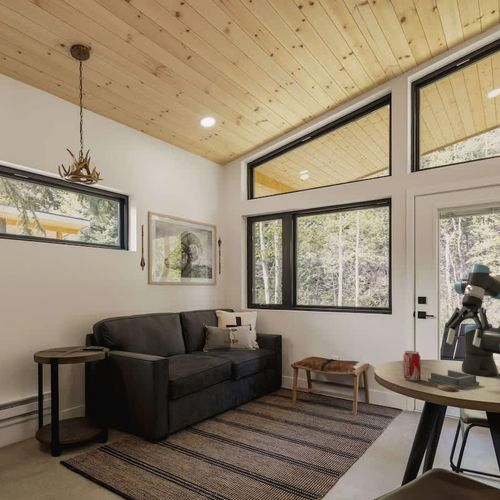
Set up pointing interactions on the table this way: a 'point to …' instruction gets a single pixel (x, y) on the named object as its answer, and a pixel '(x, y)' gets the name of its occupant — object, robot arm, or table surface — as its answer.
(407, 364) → the soda can
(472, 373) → the robot arm
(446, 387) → the walnut coaster
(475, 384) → the dock
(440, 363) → the table surface
